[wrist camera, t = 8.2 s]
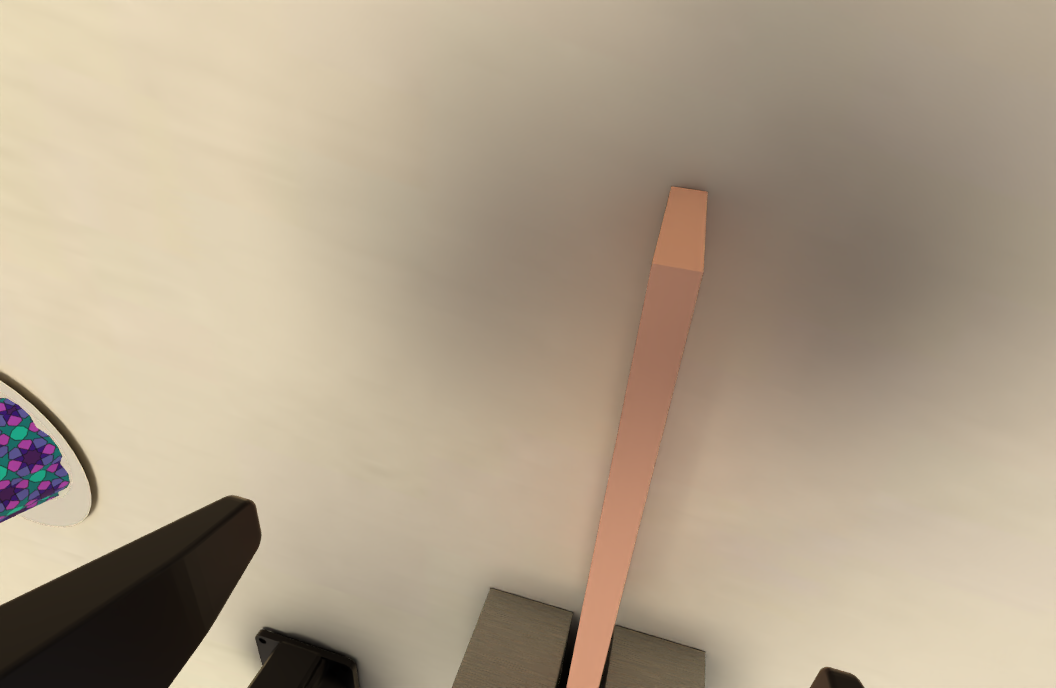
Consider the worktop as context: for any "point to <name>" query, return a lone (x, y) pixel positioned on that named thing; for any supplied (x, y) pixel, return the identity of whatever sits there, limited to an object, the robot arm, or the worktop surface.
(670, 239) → the salmon pink plank
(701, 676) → the grey upright box
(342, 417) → the worktop surface
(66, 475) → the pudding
